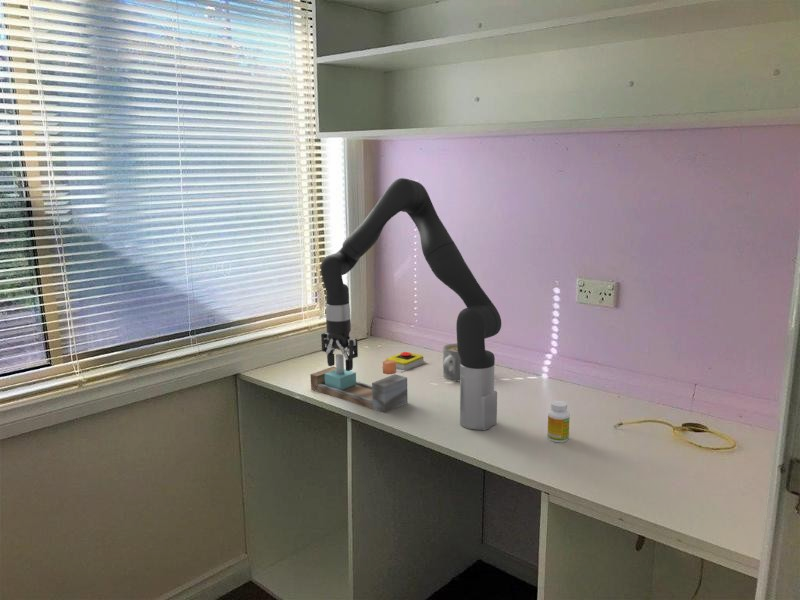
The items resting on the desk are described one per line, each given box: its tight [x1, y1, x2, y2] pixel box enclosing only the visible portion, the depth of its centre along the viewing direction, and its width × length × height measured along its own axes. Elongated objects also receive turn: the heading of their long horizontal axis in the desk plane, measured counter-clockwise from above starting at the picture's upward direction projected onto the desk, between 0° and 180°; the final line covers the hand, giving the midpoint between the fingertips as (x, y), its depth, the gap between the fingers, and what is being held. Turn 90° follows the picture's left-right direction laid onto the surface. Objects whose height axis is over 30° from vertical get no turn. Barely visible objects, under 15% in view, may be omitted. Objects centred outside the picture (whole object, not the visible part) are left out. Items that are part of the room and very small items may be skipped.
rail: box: [309, 366, 409, 414], centre depth 204 cm, size 32×10×8 cm, turn 49°
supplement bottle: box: [547, 400, 571, 443], centre depth 170 cm, size 5×5×10 cm
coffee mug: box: [442, 342, 460, 381], centre depth 219 cm, size 13×10×10 cm
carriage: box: [325, 353, 357, 390], centre depth 208 cm, size 7×7×10 cm
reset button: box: [382, 360, 397, 375], centre depth 193 cm, size 4×4×3 cm
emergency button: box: [381, 351, 427, 373], centre depth 234 cm, size 9×4×15 cm
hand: (340, 367), depth 208 cm, fingers open, 7 cm apart
